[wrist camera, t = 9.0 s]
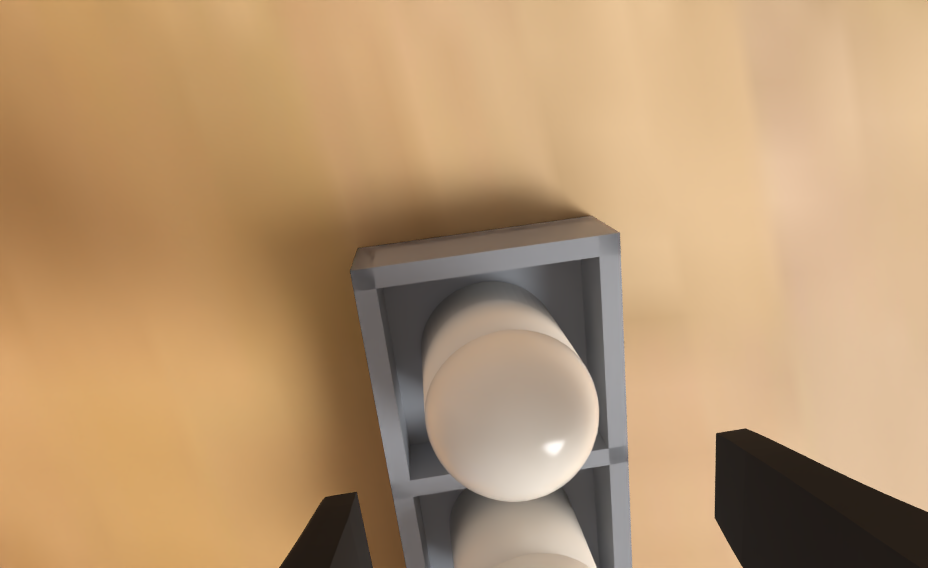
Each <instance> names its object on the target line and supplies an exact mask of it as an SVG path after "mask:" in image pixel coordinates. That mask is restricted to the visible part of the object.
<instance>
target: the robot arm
mask: <svg viewBox="0 0 928 568" xmlns="http://www.w3.org/2000/svg"><path fill="white" fill-rule="evenodd" d="M715 519H716V521H717V523H718V525H719V526H720V528H721V530H722V532H723V534H724V536H725V538H726V539H727V541H728V543H729V545H730V547H731V548H732V550H733V552H734V553H735V555H736V557H737V559H738V560H739V562H740V564H741V565H742V567H743V568H928V512H926V511H924V510H921V509H919V508H917V507H914V506H912V505H910V504H907V503H905V502H903V501H900V500H898V499H896V498H893V497H891V496H889V495H886V494H884V493H882V492H880V491H877V490H875V489H873V488H871V487H869V486H866V485H864V484H862V483H860V482H858V481H856V480H853V479H851V478H849V477H847V476H845V475H843V474H841V473H839V472H837V471H834V470H832V469H830V468H828V467H826V466H824V465H822V464H820V463H818V462H816V461H814V460H812V459H810V458H808V457H806V456H804V455H802V454H800V453H798V452H795V451H793V450H791V449H789V448H787V447H785V446H783V445H781V444H779V443H777V442H775V441H773V440H771V439H769V438H766V437H764V436H762V435H760V434H758V433H755V432H753V431H750V430H748V429H740V430H734V431H727V432H721V433H716V473H715ZM279 568H373V566H372V561H371V557H370V552H369V547H368V543H367V538H366V533H365V528H364V524H363V519H362V514H361V510H360V505H359V500H358V495H357V492H353V493H347V494H341V495H334V496H328V497H325V498H324V499H323V501H322V502H321V503H320V505H319V506H318V508H317V510H316V511H315V513H314V514H313V516H312V518H311V519H310V521H309V523H308V524H307V526H306V527H305V529H304V531H303V532H302V534H301V535H300V537H299V539H298V540H297V542H296V543H295V545H294V546H293V548H292V550H291V551H290V553H289V554H288V556H287V557H286V559H285V560H284V562H283V563H282V564H281V566H280V567H279Z"/></svg>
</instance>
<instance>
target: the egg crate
mask: <svg viewBox="0 0 928 568" xmlns="http://www.w3.org/2000/svg"><path fill="white" fill-rule="evenodd" d="M350 274H351V279H352V284H353V289H354V295H355V300H356V305H357V310H358V316H359V321H360V326H361V331H362V337H363V342H364V347H365V353H366V358H367V363H368V368H369V374H370V379H371V384H372V389H373V395H374V400H375V405H376V410H377V416H378V421H379V426H380V431H381V437H382V442H383V447H384V453H385V458H386V463H387V468H388V474H389V479H390V484H391V489H392V495H393V500H394V505H395V510H396V516H397V521H398V526H399V531H400V537H401V542H402V547H403V552H404V558H405V563H406V568H632V550H631V523H630V496H629V469H628V442H627V414H626V387H625V360H624V333H623V306H622V278H621V251H620V233H619V232H618V231H616V230H615V229H613V228H611V227H610V226H608V225H606V224H605V223H603V222H601V221H600V220H598V219H597V218H595V217H593V216H586V217H579V218H572V219H565V220H558V221H551V222H543V223H536V224H529V225H522V226H515V227H508V228H500V229H493V230H486V231H479V232H472V233H464V234H457V235H450V236H443V237H436V238H429V239H421V240H414V241H407V242H400V243H393V244H385V245H378V246H371V247H364V248H358V249H357V252H356V255H355V258H354V261H353V263H352V266H351V269H350ZM489 281H496V282H505V283H510V284H513V285H517V286H519V287H521V288H523V289H526V290H527V291H529V292H530V293H532V294H533V295H535V296H536V297H537V298H538V299H539V300H540V301H541V302H542V303H543V304H544V305H545V307H546V308H547V310H548V311H549V313H550V314H551V316H552V317H553V319H554V320H555V322H556V323H557V324H558V326H559V327H560V329H561V330H562V332H563V333H564V335H565V336H566V338H567V339H568V341H569V342H570V344H571V345H572V347H573V348H574V350H575V351H576V353H577V354H578V356H579V357H580V359H581V360H582V362H583V363H584V365H585V366H586V368H587V370H588V372H589V373H590V376H591V378H592V380H593V382H594V385H595V389H596V392H597V397H598V404H599V425H598V432H597V436H596V439H595V442H594V446H593V448H592V451H591V453H590V455H589V457H588V458H587V460H586V462H585V463H584V465H583V466H582V468H581V469H580V470H579V471H578V472H577V474H576V475H575V476H574V477H573V478H572V479H571V480H570V481H569V482H567V483H566V484H565V485H563V486H562V487H561V488H559V489H557V490H556V491H554V492H552V493H550V494H548V495H545V496H543V497H540V498H537V499H532V500H528V501H520V502H507V501H499V500H495V499H490V498H487V497H484V496H482V495H479V494H477V493H475V492H473V491H471V490H469V489H468V488H466V487H465V486H463V485H462V484H461V483H459V482H458V481H457V480H455V479H454V478H453V477H452V476H451V475H450V474H449V473H448V471H447V470H446V469H445V468H444V466H443V465H442V464H441V463H440V461H439V459H438V458H437V456H436V454H435V452H434V450H433V448H432V445H431V443H430V440H429V437H428V433H427V429H426V423H425V412H424V393H423V375H422V356H421V341H422V336H423V331H424V328H425V326H426V323H427V321H428V319H429V317H430V315H431V314H432V313H433V311H434V310H435V308H436V307H437V306H438V305H439V304H440V303H441V302H442V301H443V300H444V299H445V298H447V297H448V296H449V295H451V294H452V293H454V292H455V291H457V290H459V289H461V288H463V287H466V286H468V285H471V284H475V283H480V282H489Z"/></svg>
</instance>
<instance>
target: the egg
mask: <svg viewBox="0 0 928 568" xmlns="http://www.w3.org/2000/svg"><path fill="white" fill-rule="evenodd" d="M421 356H422V375H423V393H424V412H425V423H426V429H427V433H428V437H429V440H430V443H431V445H432V448H433V450H434V452H435V454H436V456H437V458H438V459H439V461H440V463H441V464H442V465H443V466H444V468H445V469H446V470H447V471H448V473H449V474H450V475H451V476H452V477H453V478H454V479H455V480H457V481H458V482H459V483H461V484H462V485H463V486H465V487H466V488H468V489H469V490H471V491H473V492H475V493H477V494H479V495H482V496H484V497H487V498H490V499H495V500H499V501H507V502H520V501H528V500H532V499H537V498H540V497H543V496H545V495H548V494H550V493H552V492H554V491H556V490H557V489H559V488H561V487H562V486H563V485H565V484H566V483H567V482H569V481H570V480H571V479H572V478H573V477H574V476H575V475H576V474H577V472H578V471H579V470H580V469H581V468H582V466H583V465H584V463H585V462H586V460H587V458H588V457H589V455H590V453H591V451H592V448H593V446H594V442H595V439H596V436H597V432H598V425H599V404H598V397H597V392H596V389H595V385H594V382H593V380H592V378H591V376H590V373H589V372H588V370H587V368H586V366H585V365H584V363H583V362H582V360H581V359H580V357H579V356H578V354H577V353H576V351H575V350H574V348H573V347H572V345H571V344H570V342H569V341H568V339H567V338H566V336H565V335H564V333H563V332H562V330H561V329H560V327H559V326H558V324H557V323H556V322H555V320H554V319H553V317H552V316H551V314H550V313H549V311H548V310H547V308H546V307H545V305H544V304H543V303H542V302H541V301H540V300H539V299H538V298H537V297H536V296H535V295H533V294H532V293H530V292H529V291H527V290H526V289H523V288H521V287H519V286H517V285H513V284H510V283H505V282H496V281H489V282H480V283H475V284H471V285H468V286H466V287H463V288H461V289H459V290H457V291H455V292H454V293H452V294H451V295H449V296H448V297H447V298H445V299H444V300H443V301H442V302H441V303H440V304H439V305H438V306H437V307H436V308H435V310H434V311H433V313H432V314H431V315H430V317H429V319H428V321H427V323H426V326H425V328H424V331H423V336H422V341H421Z"/></svg>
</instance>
